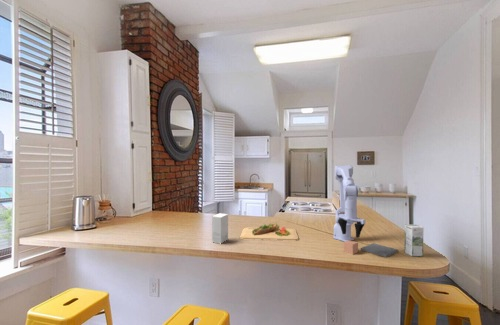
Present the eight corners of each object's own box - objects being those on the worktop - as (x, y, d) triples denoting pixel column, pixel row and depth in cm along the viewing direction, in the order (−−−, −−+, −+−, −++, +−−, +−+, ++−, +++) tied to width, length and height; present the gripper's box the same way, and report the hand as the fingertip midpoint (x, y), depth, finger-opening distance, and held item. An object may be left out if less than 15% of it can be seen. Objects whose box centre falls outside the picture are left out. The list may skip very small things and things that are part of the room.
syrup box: (415, 252, 127) (415, 223, 127) (423, 256, 121) (423, 226, 121) (404, 252, 127) (404, 224, 127) (412, 257, 121) (412, 226, 121)
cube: (343, 251, 129) (343, 241, 129) (349, 249, 132) (349, 240, 132) (352, 254, 125) (352, 244, 125) (358, 252, 128) (358, 242, 128)
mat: (360, 249, 131) (360, 248, 131) (373, 245, 139) (373, 243, 139) (386, 257, 121) (386, 255, 121) (398, 251, 128) (398, 249, 128)
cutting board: (295, 231, 170) (295, 220, 170) (298, 242, 147) (298, 229, 147) (243, 230, 173) (243, 219, 173) (239, 240, 150) (239, 227, 150)
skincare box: (219, 238, 151) (219, 213, 151) (229, 240, 148) (228, 213, 148) (211, 242, 144) (211, 215, 144) (221, 244, 141) (221, 216, 141)
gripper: (333, 207, 132) (333, 233, 132) (359, 212, 120) (360, 240, 120) (341, 206, 136) (341, 231, 136) (367, 210, 124) (367, 237, 124)
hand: (350, 235), depth 128 cm, fingers open, 7 cm apart
